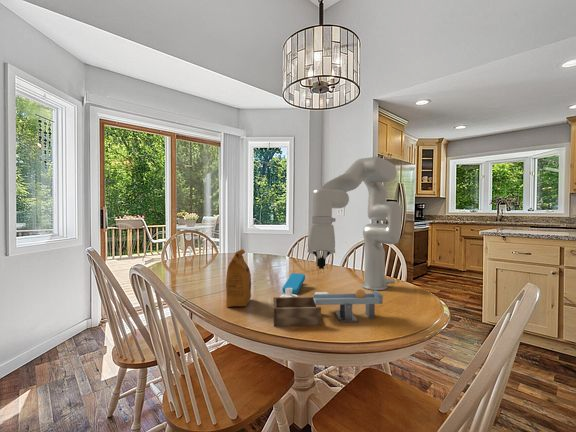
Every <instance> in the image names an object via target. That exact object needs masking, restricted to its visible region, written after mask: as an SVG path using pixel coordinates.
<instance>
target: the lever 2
mask: <svg viewBox="0 0 576 432" xmlns="http://www.w3.org/2000/svg"><path fill="white" fill-rule="evenodd" d="M372 291H373V292H365V294H366V296H365V298H357V297H356V292H354V293H329V292H328V291H315V292H314V294H313V295H312V297H313V300H314V302H315V305H316V306H329V305H330V306H331V305H332V306H333V305H335V306H337V305H339V306H340V305H343V304H352V305H366V304H375V305H377V304H378V305H383V302H384V300H383V299H384V298H383V297H384V296H383V294H382V293H380V292H379V290H372Z"/></svg>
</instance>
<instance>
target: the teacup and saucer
mask: <svg viewBox="0 0 576 432" xmlns="http://www.w3.org/2000/svg"><path fill="white" fill-rule="evenodd" d="M285 292H286V293H285V294H284V293H283V294H281V295H280V296H279V297H299V295H298V294H292V288H285Z"/></svg>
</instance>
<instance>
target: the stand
mask: <svg viewBox="0 0 576 432" xmlns="http://www.w3.org/2000/svg"><path fill="white" fill-rule="evenodd" d="M375 307H376V304H365V315H366V317H367V318H368V319H375V315H376V313H375V311H376V310H375ZM334 313H335V315H336V317H337V318H338V320H339V322H340V323H358V322H359V320H358V318H357V317H356V316H355V315H354V313H353V304H343V305H339V309H335V310H334Z"/></svg>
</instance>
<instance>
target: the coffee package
mask: <svg viewBox="0 0 576 432" xmlns="http://www.w3.org/2000/svg"><path fill="white" fill-rule="evenodd" d="M245 252H246V250H244V248H242V249H240V250H237V251H235V253H234V256H233V257H232V259H231V260H230V262H229V264H228V266H227V270H226V279H225V289H226V292H225V293H226V294H225V295H226V296H225V297H226V298H225V299H226V302H225V303H226V305H225V306H226V308H230V307H233V308H234V307H246V306H247V305H248V304H249V302H250V300H251V298H252V293H251V292H252V290H251V289H252V273H251V271H250V267H249V266H248V263H246V261H245V258H244V256H243V255H244V254H245Z"/></svg>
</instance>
